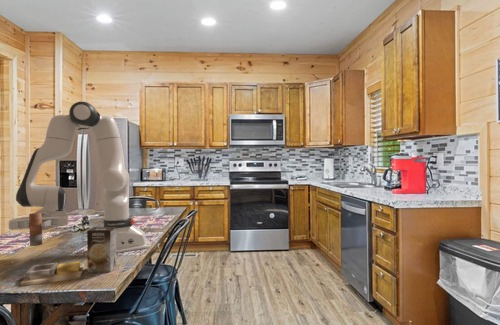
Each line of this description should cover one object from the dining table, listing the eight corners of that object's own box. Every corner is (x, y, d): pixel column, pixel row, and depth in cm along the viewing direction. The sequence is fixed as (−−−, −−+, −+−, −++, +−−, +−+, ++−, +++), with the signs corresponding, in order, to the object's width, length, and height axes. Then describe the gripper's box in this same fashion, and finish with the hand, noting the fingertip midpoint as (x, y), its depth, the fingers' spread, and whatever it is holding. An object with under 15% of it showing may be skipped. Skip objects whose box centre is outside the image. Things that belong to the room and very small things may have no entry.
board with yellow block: (84, 266, 129) (84, 257, 129) (80, 278, 116) (79, 268, 116) (31, 272, 122) (31, 263, 122) (20, 286, 109) (20, 275, 109)
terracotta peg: (43, 242, 126) (42, 212, 126) (41, 245, 123) (40, 214, 122) (31, 243, 125) (30, 213, 125) (28, 246, 121) (27, 214, 121)
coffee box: (86, 272, 122) (85, 230, 121) (94, 266, 128) (93, 226, 128) (111, 271, 122) (110, 230, 122) (117, 266, 128) (116, 226, 128)
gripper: (14, 213, 132) (2, 219, 119) (70, 210, 139) (64, 215, 126) (15, 229, 132) (2, 236, 119) (71, 224, 139) (65, 231, 126)
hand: (35, 225), depth 123 cm, fingers closed on terracotta peg, 4 cm apart
